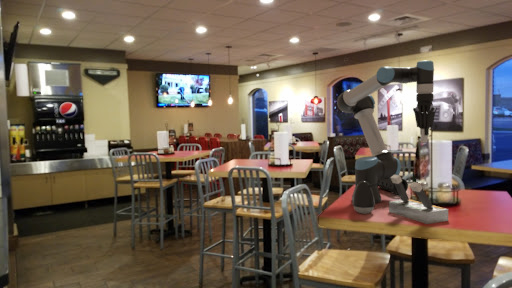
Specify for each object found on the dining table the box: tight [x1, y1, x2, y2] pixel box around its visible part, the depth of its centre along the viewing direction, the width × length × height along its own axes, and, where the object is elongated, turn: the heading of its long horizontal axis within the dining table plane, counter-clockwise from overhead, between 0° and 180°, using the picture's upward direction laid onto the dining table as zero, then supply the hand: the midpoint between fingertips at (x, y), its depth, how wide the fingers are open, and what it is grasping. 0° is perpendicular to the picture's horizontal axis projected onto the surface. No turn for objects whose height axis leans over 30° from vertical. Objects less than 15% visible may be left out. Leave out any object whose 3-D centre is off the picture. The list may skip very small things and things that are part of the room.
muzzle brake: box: [378, 177, 409, 196], centre depth 233 cm, size 10×28×10 cm, turn 8°
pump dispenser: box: [352, 181, 376, 215], centre depth 184 cm, size 10×10×15 cm
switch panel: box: [388, 198, 449, 225], centre depth 176 cm, size 23×12×5 cm, turn 22°
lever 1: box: [390, 174, 410, 203], centre depth 180 cm, size 4×3×14 cm
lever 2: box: [409, 181, 434, 209], centre depth 167 cm, size 4×3×14 cm
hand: (424, 142), depth 189 cm, fingers closed
